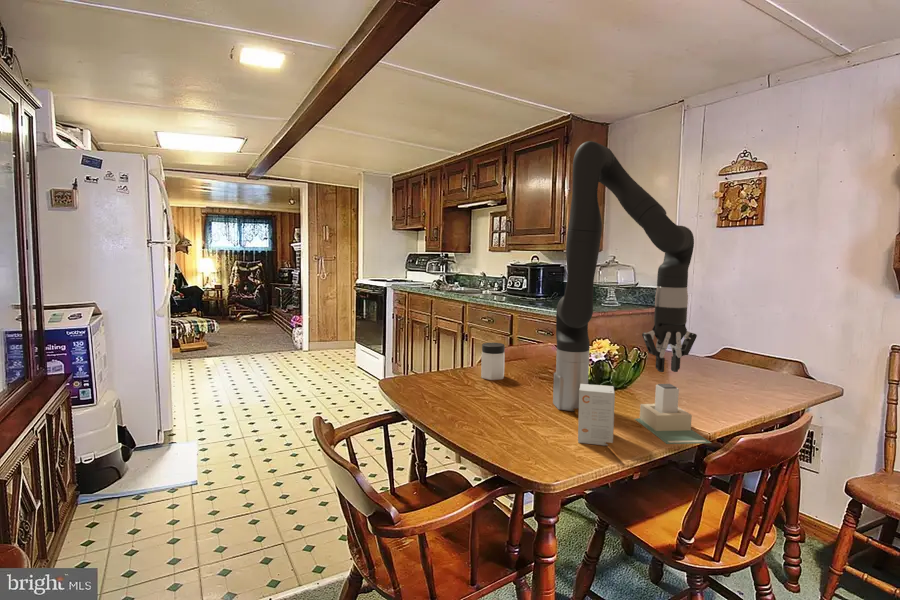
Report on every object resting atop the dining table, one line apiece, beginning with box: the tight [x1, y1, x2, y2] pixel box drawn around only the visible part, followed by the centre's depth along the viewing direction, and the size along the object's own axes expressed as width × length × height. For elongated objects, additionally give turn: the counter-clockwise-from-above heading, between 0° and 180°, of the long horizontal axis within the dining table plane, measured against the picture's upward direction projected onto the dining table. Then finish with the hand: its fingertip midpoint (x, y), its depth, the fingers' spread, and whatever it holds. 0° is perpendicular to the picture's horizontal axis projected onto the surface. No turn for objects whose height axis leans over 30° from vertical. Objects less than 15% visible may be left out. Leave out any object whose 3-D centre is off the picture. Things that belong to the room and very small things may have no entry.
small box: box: [577, 383, 616, 447], centre depth 116 cm, size 8×6×13 cm
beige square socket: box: [639, 402, 693, 431], centre depth 125 cm, size 9×10×4 cm
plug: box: [654, 383, 680, 413], centre depth 125 cm, size 4×5×10 cm
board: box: [634, 417, 712, 445], centre depth 121 cm, size 11×17×1 cm, turn 4°
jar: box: [480, 342, 506, 381], centre depth 174 cm, size 9×8×12 cm
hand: (667, 371), depth 124 cm, fingers open, 3 cm apart
